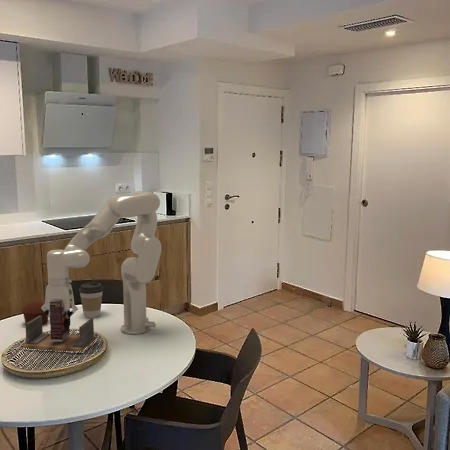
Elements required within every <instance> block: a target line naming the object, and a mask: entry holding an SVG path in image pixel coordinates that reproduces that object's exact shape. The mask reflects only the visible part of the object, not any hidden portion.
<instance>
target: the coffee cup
mask: <svg viewBox="0 0 450 450" xmlns="http://www.w3.org/2000/svg"><path fill="white" fill-rule="evenodd" d="M104 290H105V289H104V286H102V283H100V282H86V283H82V284H81V285H80V287H79V288H78V292H79V294H80V301H81V307H82V313H83V316H84V318H85V319H96V318H99V317H100V316H101V312H102V311H101V310H102V302H103V301H102V300H103V291H104Z"/></svg>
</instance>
